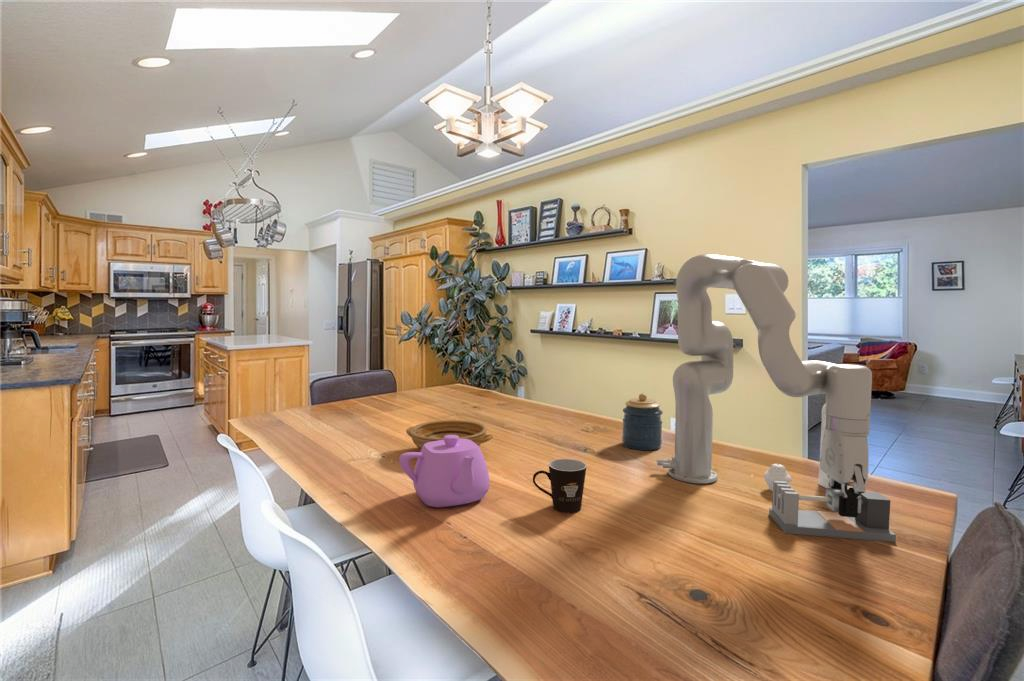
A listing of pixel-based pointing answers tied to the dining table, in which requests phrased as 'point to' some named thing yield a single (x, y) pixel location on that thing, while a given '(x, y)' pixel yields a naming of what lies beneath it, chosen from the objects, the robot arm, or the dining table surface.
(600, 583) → the dining table surface
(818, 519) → the board
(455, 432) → the ceramic bowl
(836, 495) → the sleeve
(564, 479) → the coffee mug
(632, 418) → the canister
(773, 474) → the white rounded ridged piece
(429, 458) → the teapot
